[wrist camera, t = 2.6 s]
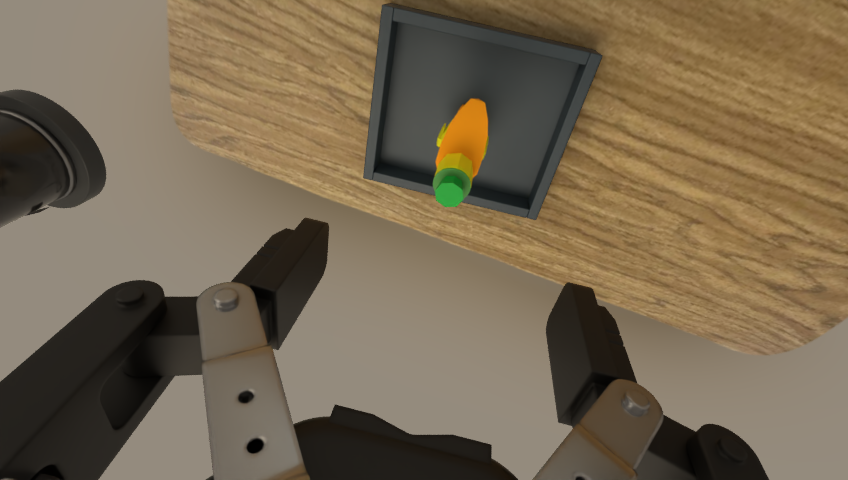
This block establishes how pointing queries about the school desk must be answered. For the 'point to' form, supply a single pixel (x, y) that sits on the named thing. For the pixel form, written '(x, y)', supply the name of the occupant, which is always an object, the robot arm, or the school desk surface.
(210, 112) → the school desk surface
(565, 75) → the tray
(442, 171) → the toy figure
